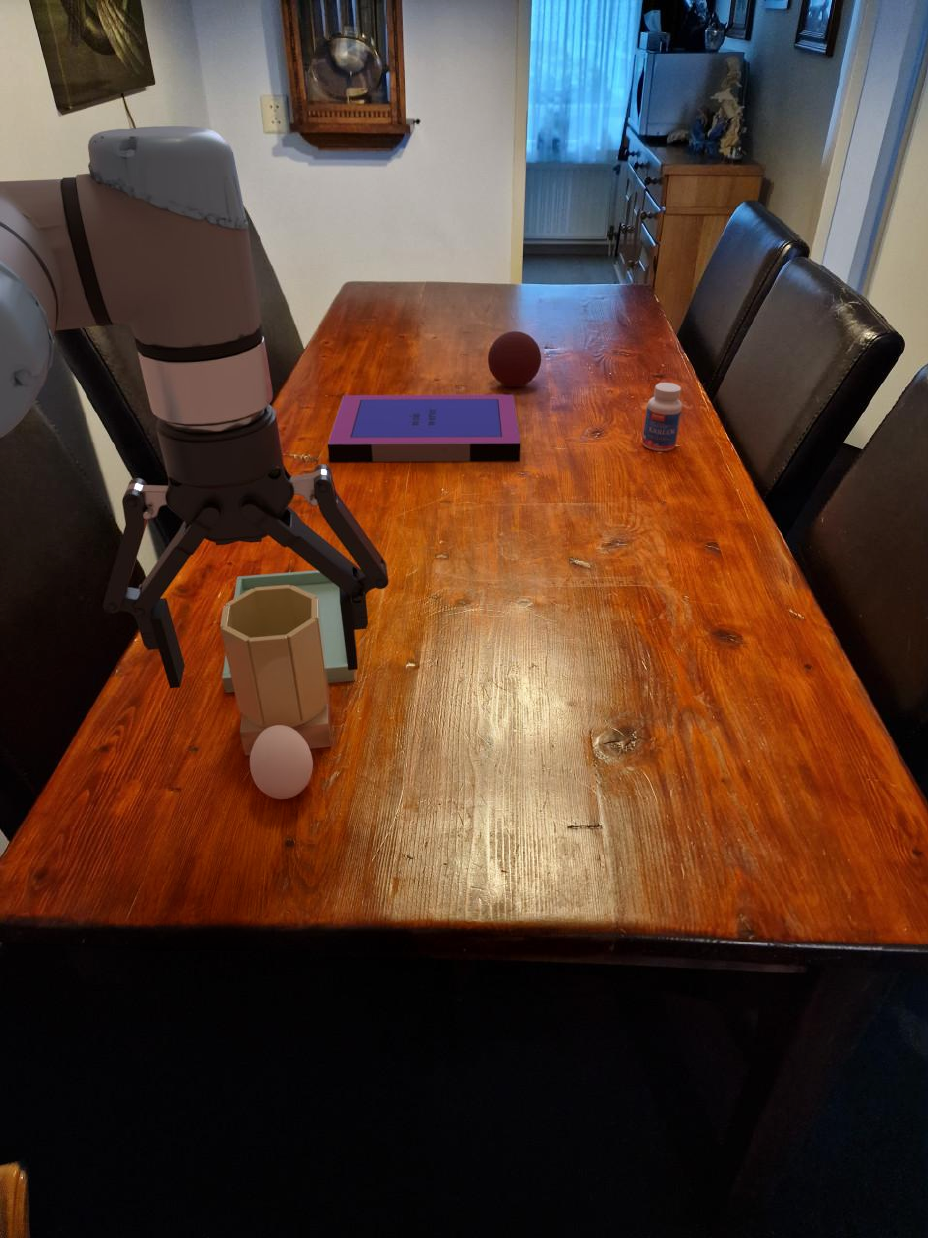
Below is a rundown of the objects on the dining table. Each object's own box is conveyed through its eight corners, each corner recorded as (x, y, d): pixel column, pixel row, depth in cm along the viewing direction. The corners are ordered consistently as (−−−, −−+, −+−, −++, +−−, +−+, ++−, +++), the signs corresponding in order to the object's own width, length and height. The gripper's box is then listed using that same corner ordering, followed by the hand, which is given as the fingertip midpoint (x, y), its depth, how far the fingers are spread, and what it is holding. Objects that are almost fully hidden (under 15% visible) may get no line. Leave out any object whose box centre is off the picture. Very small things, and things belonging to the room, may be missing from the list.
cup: (237, 734, 74) (216, 644, 68) (243, 675, 81) (225, 589, 75) (330, 724, 75) (318, 635, 69) (329, 667, 82) (317, 582, 76)
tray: (355, 680, 85) (353, 665, 84) (225, 693, 83) (221, 678, 82) (349, 581, 100) (347, 567, 99) (239, 590, 99) (236, 576, 98)
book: (520, 443, 127) (327, 444, 127) (519, 461, 128) (329, 461, 128) (513, 394, 144) (343, 395, 144) (513, 410, 145) (344, 411, 145)
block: (244, 756, 76) (239, 732, 74) (250, 699, 83) (245, 677, 81) (331, 747, 77) (327, 723, 75) (330, 692, 84) (327, 669, 82)
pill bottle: (642, 451, 131) (650, 392, 126) (640, 437, 136) (648, 380, 130) (677, 452, 131) (687, 393, 125) (674, 439, 135) (683, 381, 129)
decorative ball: (540, 377, 160) (542, 324, 154) (539, 395, 152) (542, 341, 146) (489, 375, 160) (490, 323, 155) (485, 393, 152) (486, 339, 146)
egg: (329, 787, 73) (320, 726, 69) (284, 823, 70) (272, 762, 65) (288, 761, 76) (278, 701, 71) (244, 795, 72) (229, 734, 68)
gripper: (404, 377, 56) (418, 625, 69) (26, 401, 54) (111, 654, 66) (415, 419, 50) (428, 682, 63) (-11, 448, 48) (91, 717, 60)
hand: (266, 668), depth 64 cm, fingers open, 13 cm apart
